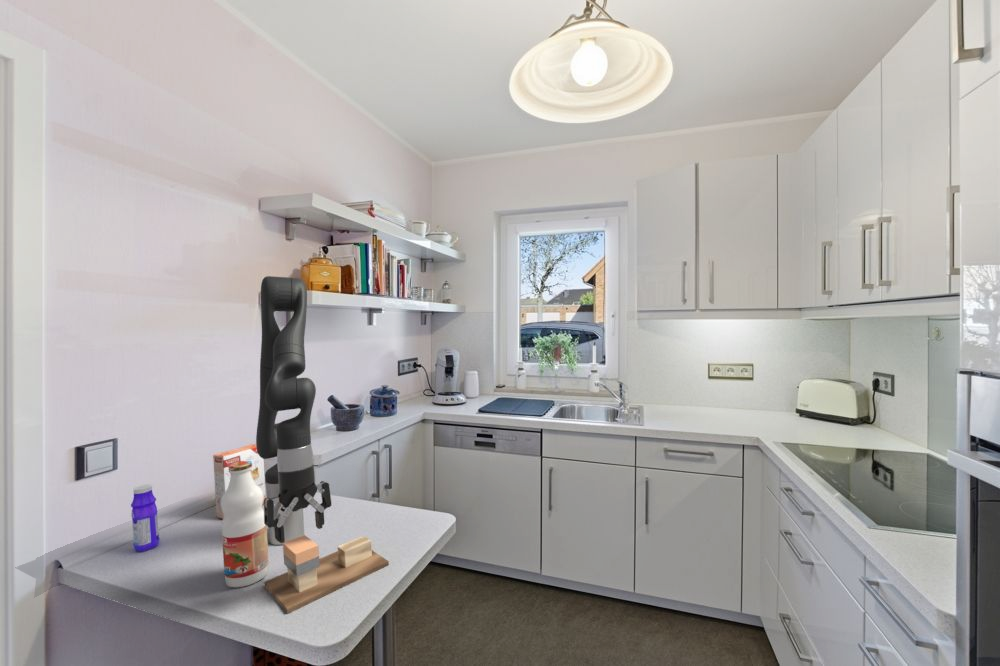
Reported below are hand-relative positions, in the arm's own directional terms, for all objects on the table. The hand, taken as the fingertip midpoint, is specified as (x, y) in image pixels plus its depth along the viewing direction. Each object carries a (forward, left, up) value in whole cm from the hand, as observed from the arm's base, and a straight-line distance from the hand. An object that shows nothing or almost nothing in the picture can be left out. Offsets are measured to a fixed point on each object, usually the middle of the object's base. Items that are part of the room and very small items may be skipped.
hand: (300, 534), depth 101 cm
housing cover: (0, 0, -5) cm, 5 cm away
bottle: (-56, -23, -13) cm, 62 cm away
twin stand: (0, +6, -12) cm, 14 cm away
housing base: (0, 0, -7) cm, 7 cm away
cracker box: (-62, +3, -13) cm, 64 cm away
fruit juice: (-15, -8, -13) cm, 21 cm away
